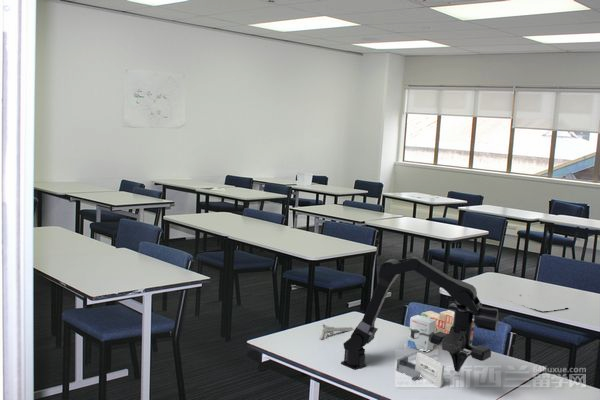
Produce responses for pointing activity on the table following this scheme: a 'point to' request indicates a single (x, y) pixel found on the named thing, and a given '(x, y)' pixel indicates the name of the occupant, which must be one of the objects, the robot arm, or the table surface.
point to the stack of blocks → (444, 321)
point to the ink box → (421, 332)
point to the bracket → (407, 368)
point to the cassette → (431, 375)
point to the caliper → (332, 330)
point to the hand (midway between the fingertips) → (456, 371)
